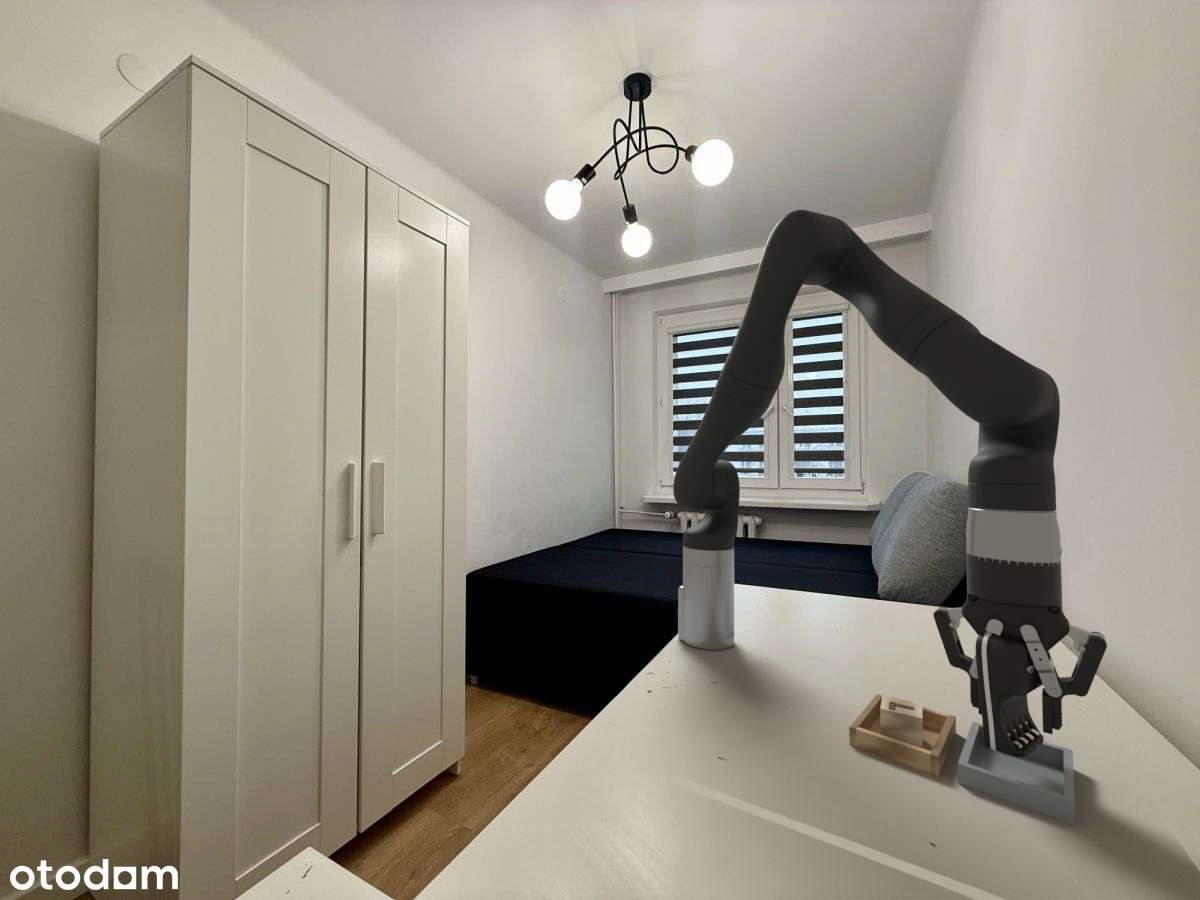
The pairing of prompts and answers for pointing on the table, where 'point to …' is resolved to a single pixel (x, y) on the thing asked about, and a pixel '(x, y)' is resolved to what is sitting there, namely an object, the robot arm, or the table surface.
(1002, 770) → the slate tray
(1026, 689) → the black battery charger
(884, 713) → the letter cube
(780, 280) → the robot arm
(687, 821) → the table surface
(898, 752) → the oak tray
